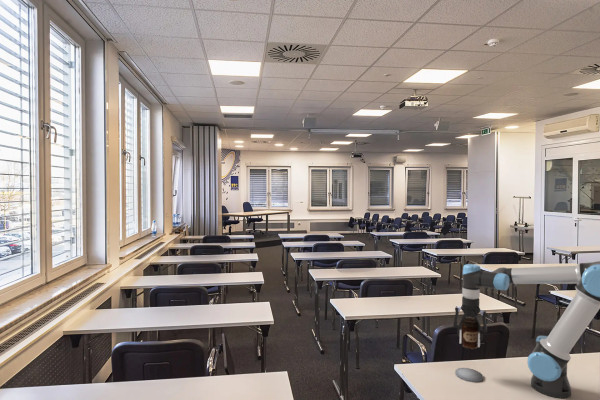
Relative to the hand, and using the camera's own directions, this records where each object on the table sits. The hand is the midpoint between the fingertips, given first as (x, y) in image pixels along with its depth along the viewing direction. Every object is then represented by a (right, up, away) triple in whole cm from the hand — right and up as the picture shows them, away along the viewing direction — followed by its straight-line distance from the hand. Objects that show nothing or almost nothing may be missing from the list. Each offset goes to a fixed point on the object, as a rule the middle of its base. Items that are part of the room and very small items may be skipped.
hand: (469, 344), depth 176 cm
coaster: (0, -15, 0) cm, 15 cm away
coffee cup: (0, -1, 0) cm, 1 cm away
